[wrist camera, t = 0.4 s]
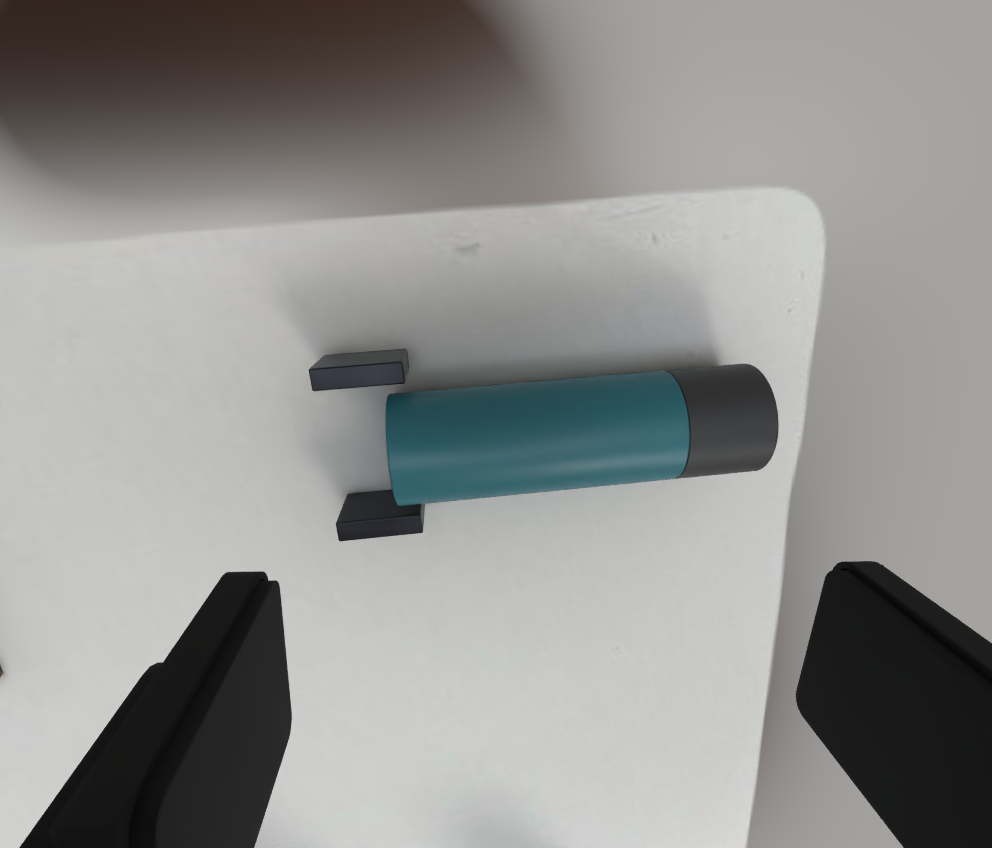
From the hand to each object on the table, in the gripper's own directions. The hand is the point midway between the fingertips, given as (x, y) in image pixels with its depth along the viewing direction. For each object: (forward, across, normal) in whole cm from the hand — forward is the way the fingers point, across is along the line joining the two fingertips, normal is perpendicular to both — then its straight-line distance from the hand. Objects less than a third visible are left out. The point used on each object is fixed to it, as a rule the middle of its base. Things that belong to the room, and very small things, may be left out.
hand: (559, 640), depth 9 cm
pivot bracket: (+19, +5, +3) cm, 20 cm away
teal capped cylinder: (+19, -4, +2) cm, 20 cm away
